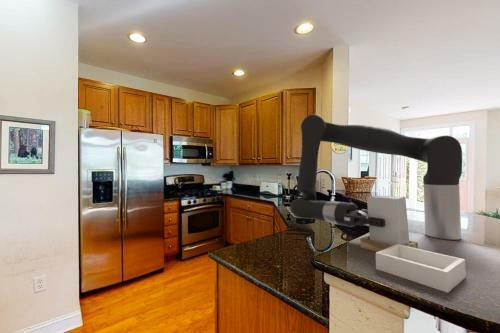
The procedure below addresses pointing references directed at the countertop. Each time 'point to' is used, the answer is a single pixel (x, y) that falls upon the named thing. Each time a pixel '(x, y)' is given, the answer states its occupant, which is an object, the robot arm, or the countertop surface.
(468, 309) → the countertop surface
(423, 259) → the tray
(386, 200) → the skincare box
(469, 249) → the countertop surface
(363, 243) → the holder
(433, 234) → the robot arm
